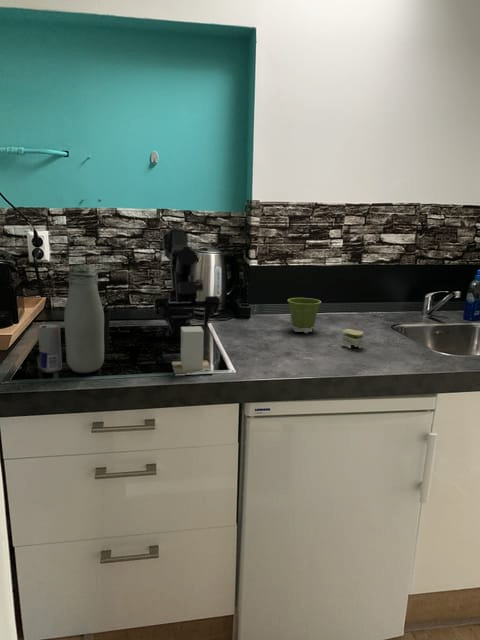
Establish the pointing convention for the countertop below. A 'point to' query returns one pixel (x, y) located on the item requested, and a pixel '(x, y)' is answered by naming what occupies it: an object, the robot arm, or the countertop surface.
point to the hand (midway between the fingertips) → (189, 331)
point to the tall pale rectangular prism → (192, 348)
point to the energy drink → (50, 348)
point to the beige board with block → (179, 370)
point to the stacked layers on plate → (352, 336)
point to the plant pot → (303, 311)
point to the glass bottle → (84, 321)
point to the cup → (106, 328)
